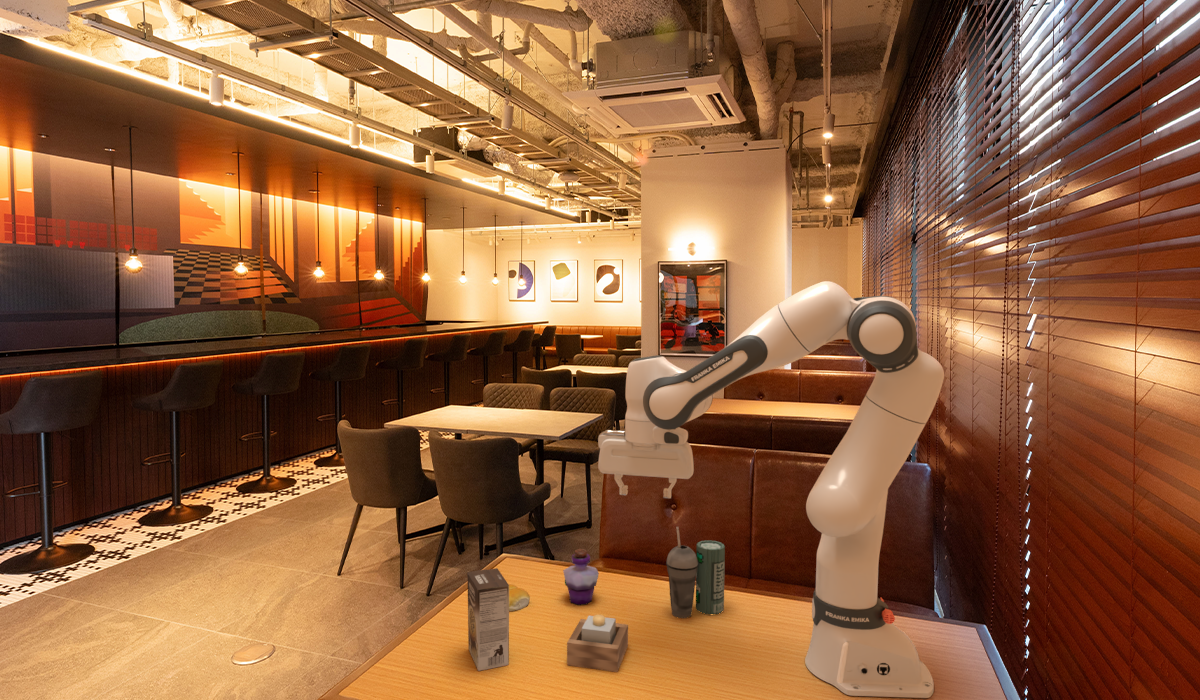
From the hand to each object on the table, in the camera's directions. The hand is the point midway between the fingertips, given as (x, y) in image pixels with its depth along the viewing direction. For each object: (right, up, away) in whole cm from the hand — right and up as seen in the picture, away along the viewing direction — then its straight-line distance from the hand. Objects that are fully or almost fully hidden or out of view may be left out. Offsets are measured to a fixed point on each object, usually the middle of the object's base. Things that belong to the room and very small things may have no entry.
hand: (645, 496), depth 140 cm
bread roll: (-31, -29, +14) cm, 44 cm away
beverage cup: (+9, -29, +9) cm, 31 cm away
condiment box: (-10, -30, -9) cm, 33 cm away
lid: (-10, -28, -9) cm, 31 cm away
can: (+16, -29, +11) cm, 35 cm away
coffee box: (-32, -30, -10) cm, 45 cm away
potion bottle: (-14, -28, +16) cm, 35 cm away
